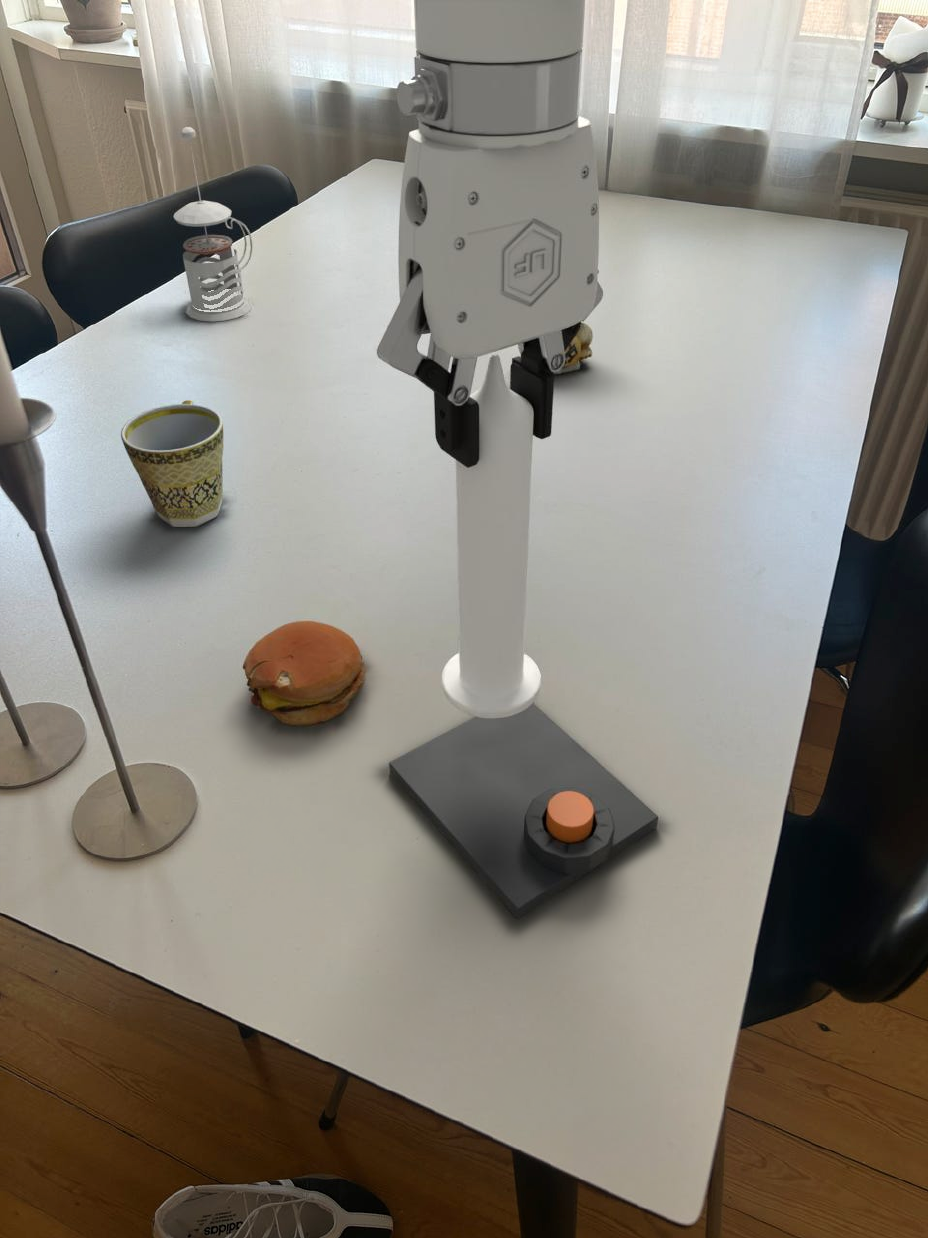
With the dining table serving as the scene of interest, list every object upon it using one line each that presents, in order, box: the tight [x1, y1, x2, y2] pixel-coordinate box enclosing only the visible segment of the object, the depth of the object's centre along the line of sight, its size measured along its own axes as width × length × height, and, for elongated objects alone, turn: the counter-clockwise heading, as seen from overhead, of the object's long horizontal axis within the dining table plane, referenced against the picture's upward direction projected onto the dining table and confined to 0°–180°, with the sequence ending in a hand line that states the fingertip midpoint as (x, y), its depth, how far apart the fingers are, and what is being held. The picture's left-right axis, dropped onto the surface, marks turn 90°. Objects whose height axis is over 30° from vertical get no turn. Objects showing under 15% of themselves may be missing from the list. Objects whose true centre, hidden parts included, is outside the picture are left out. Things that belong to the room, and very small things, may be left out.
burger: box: [242, 620, 366, 727], centre depth 81 cm, size 10×9×5 cm
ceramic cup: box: [120, 399, 224, 528], centre depth 101 cm, size 13×10×10 cm
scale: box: [388, 702, 659, 920], centre depth 71 cm, size 16×13×3 cm
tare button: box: [546, 791, 594, 843], centre depth 67 cm, size 3×3×2 cm
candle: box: [441, 353, 542, 718], centre depth 61 cm, size 7×7×25 cm
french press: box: [173, 126, 253, 322], centre depth 138 cm, size 10×12×25 cm
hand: (494, 439), depth 56 cm, fingers closed on candle, 4 cm apart
